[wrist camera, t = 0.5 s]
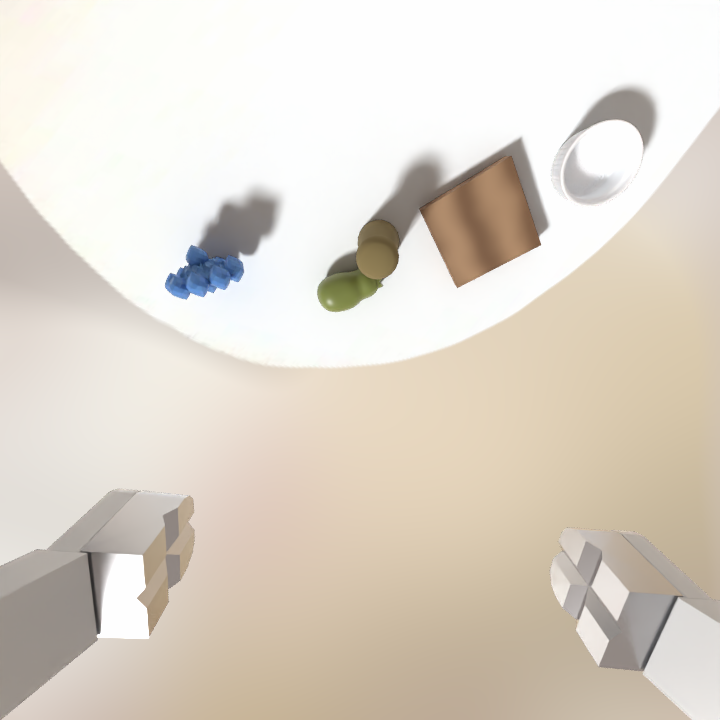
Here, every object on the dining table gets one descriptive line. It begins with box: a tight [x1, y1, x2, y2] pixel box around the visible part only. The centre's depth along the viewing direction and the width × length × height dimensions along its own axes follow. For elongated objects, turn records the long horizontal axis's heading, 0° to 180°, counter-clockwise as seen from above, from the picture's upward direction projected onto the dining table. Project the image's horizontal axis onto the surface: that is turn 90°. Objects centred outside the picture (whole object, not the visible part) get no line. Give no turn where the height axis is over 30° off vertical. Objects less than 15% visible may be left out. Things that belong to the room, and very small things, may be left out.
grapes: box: [165, 245, 244, 300], centre depth 47 cm, size 12×7×12 cm, turn 103°
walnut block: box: [419, 156, 541, 288], centre depth 46 cm, size 12×12×2 cm
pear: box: [317, 268, 383, 312], centre depth 51 cm, size 6×5×10 cm
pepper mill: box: [356, 220, 399, 279], centre depth 44 cm, size 6×6×11 cm
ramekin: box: [551, 119, 644, 207], centre depth 41 cm, size 9×9×4 cm
